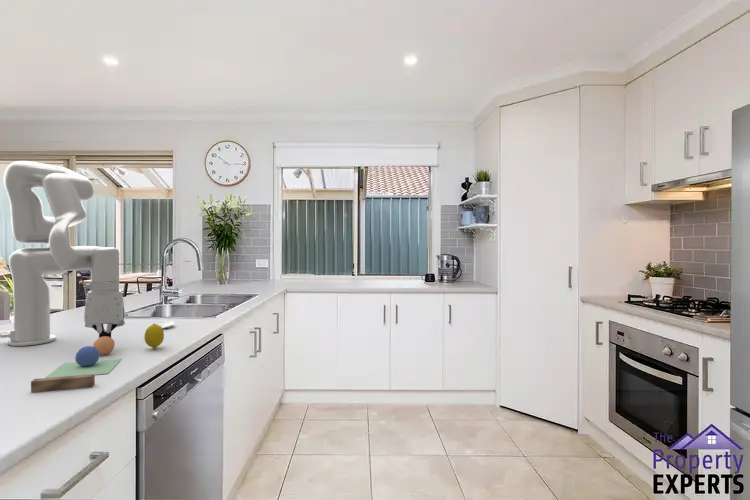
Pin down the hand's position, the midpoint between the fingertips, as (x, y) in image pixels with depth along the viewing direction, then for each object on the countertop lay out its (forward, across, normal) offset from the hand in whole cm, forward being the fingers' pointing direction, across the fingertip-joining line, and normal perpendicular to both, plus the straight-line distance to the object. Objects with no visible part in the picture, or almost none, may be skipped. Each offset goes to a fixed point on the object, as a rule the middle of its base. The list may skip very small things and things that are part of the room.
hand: (105, 344), depth 135 cm
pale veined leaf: (+2, +12, +33) cm, 35 cm away
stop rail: (+2, 0, -36) cm, 36 cm away
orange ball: (-1, +1, -6) cm, 6 cm away
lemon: (+2, +14, -2) cm, 14 cm away
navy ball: (-1, 0, -18) cm, 18 cm away
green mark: (+2, 0, -20) cm, 20 cm away
